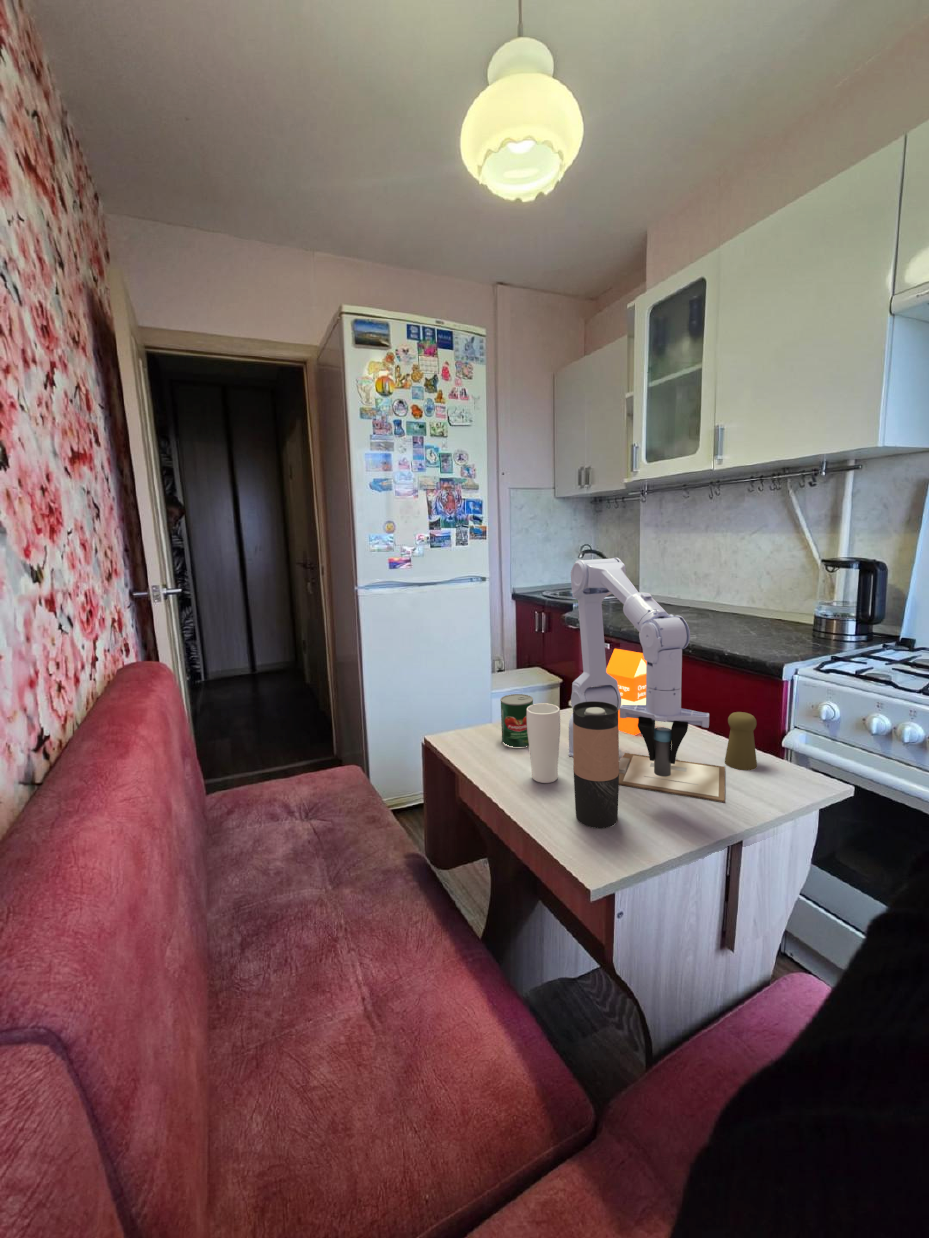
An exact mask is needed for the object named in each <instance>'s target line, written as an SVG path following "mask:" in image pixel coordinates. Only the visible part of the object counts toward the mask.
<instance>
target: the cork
mask: <svg viewBox="0 0 929 1238" xmlns="http://www.w3.org/2000/svg"><path fill="white" fill-rule="evenodd" d="M727 723H728V726H729V729H730V731H729V735H728V741H727V746H726V752H725V757H724V764H725V765H726V766H727V767H729V768H731V769H736V770H739V771H753V770H754V771H755V770H756V769H757V768H758V761H757V754H756V753H757V752H756V745H755V744H756V743H755V736H754V735H755V734H754V731H755V730H756V727H757V719H756V718H755V716H754V715H752V714H751V713H748V712H744V711H743V712H742V711H736V712H732V713H730V714H729V716H728V717H727Z"/></svg>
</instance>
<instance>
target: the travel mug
mask: <svg viewBox="0 0 929 1238" xmlns="http://www.w3.org/2000/svg"><path fill="white" fill-rule="evenodd" d="M572 713H573V756H572V757H573V758H572V759H573V763H572V765H573V768H572V769H573V787H574V788H573V789H574V806H575V807H574V809H575V817H576V820H577V821H578V822H579V823H580V824H581V825H583V826H585V827H587V828H592V829H601V830H602V829H608V828H609V829H610V828H611V827H614V826H615V825H616V823H617V822H618V819H619V818H618V816H619V794H620V793H619V790H620V789H619V788H620V787H619V786H620V785H619V761H620V753H619V752H620V743H619V742H620V741H619V739H620V736H619V734H620V733H619V730H618V708H617V707H616V706H615V705H612V704H609V703H605V702H596V701H591V702H582V703H578V704H576V705H575V706H574V707H573V708H572Z"/></svg>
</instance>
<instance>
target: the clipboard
mask: <svg viewBox="0 0 929 1238" xmlns="http://www.w3.org/2000/svg"><path fill="white" fill-rule="evenodd" d="M725 768H726V767H725V766H723V765H722V766H721V765H717V764H716V765H715V764H708V763H701V762H694V761H686V760H680V759H679V760H678V759H676V760H675V764H671V775H670V776H667V777H663V776H658V775H656V774H655V773H654V761H650V758H649V755H643V754H637V753H629V752H624V754H623V756H622V757H620V758H619V786H623V787H628V788H629V787H630V788H636V789H639V790H640V789H641V790H646V791H654V792H659V793H665V794H671V795H676V796H683V797H688V798H693V799H694V798H695V799H700V800H705V801H706V800H707V801H711V802H712V801H713V802H719V803H725V802H726V801H725V799H726V798H725V797H726V796H725V790H726V787H725V786H726V785H725V784H726V780H725V779H726V774H725V773H726V771H725V770H726V769H725Z"/></svg>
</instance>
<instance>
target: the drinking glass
mask: <svg viewBox="0 0 929 1238" xmlns="http://www.w3.org/2000/svg"><path fill="white" fill-rule="evenodd" d="M526 720H527V734H528V742H529V747H528V749H529V751H528V752H529V756H530V767H531V777H532V779H533V781H536V782H537V783H540V784H541V783H542V784H550V783H553V782H556V781H557V779H558V778H559V777H558V776H559V769H558V768H559V754H560V738H561V708H560V707H559V706H558V705H556V704H552V703H543V702H542V703H533V705H530V706H528V707H527V714H526Z"/></svg>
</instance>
